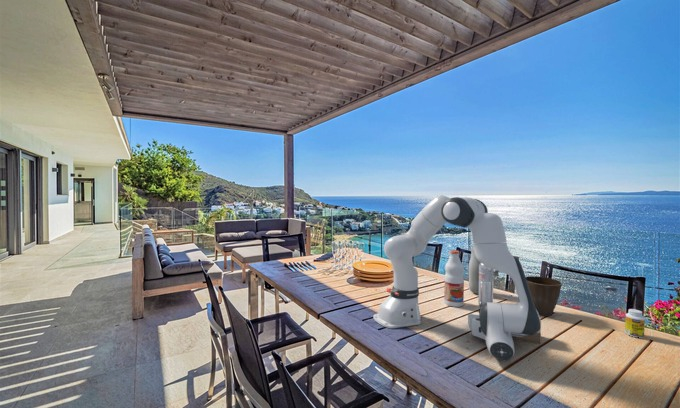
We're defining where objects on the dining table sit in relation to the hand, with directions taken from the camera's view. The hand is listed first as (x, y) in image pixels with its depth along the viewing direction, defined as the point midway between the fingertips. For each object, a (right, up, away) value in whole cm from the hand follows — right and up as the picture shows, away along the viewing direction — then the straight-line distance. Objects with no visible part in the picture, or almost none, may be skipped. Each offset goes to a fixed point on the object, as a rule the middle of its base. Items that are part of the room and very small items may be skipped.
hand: (493, 316), depth 124 cm
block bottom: (+10, -6, -7) cm, 13 cm away
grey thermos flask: (+15, -4, +45) cm, 48 cm away
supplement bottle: (+55, -6, -5) cm, 55 cm away
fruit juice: (-5, -5, +29) cm, 30 cm away
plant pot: (+32, -5, +17) cm, 37 cm away
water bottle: (+10, -5, +27) cm, 29 cm away
